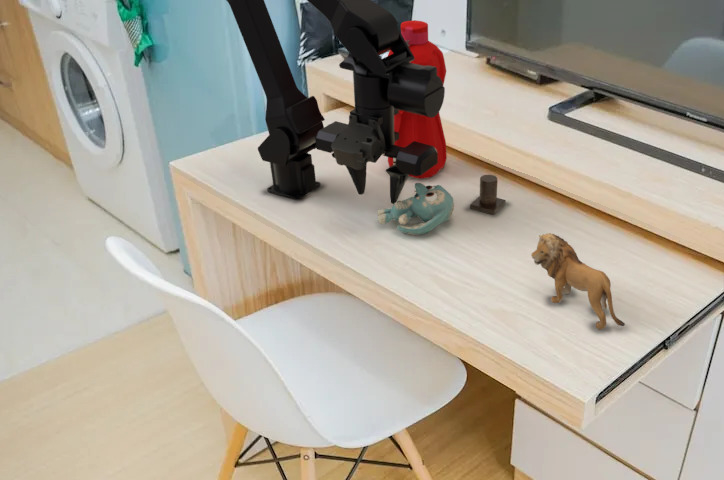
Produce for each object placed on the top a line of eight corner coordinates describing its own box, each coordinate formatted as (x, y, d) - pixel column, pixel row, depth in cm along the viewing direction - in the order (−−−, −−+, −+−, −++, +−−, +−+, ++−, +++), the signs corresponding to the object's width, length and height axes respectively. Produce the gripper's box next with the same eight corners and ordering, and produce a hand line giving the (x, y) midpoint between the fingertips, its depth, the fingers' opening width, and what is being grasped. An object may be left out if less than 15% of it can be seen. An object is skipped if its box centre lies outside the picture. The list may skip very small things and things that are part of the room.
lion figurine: (522, 294, 108) (526, 237, 103) (545, 279, 111) (550, 222, 106) (613, 337, 101) (622, 278, 95) (635, 320, 104) (645, 261, 99)
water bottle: (377, 177, 136) (368, 28, 122) (406, 154, 145) (401, 11, 130) (425, 188, 134) (422, 36, 119) (452, 163, 142) (452, 19, 127)
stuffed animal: (369, 178, 124) (443, 161, 124) (380, 218, 128) (452, 201, 129) (373, 210, 115) (453, 191, 116) (385, 251, 120) (462, 233, 120)
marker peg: (469, 208, 128) (470, 180, 125) (481, 198, 131) (482, 170, 128) (494, 215, 127) (495, 186, 124) (505, 204, 130) (507, 176, 127)
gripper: (288, 106, 113) (298, 204, 122) (399, 134, 107) (401, 235, 116) (333, 83, 121) (340, 177, 130) (440, 109, 115) (438, 205, 124)
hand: (377, 198), depth 125 cm, fingers open, 6 cm apart
